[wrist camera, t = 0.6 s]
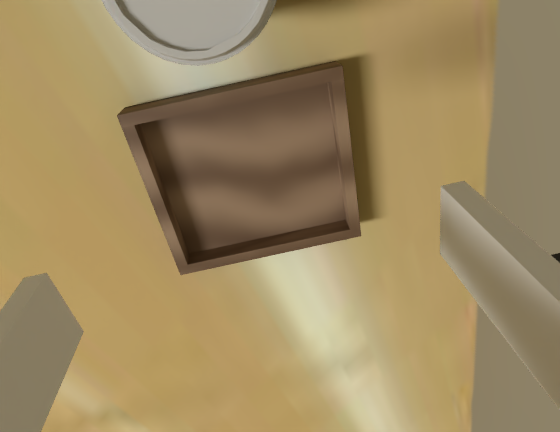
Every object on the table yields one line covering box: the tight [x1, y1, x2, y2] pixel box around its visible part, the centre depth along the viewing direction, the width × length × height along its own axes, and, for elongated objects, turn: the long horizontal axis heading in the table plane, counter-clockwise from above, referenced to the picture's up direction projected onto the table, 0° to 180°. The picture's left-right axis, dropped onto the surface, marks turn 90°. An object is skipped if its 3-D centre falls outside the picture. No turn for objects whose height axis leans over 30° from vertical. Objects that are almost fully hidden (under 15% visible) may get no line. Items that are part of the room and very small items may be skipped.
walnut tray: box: [117, 61, 361, 275], centre depth 36 cm, size 16×18×2 cm
